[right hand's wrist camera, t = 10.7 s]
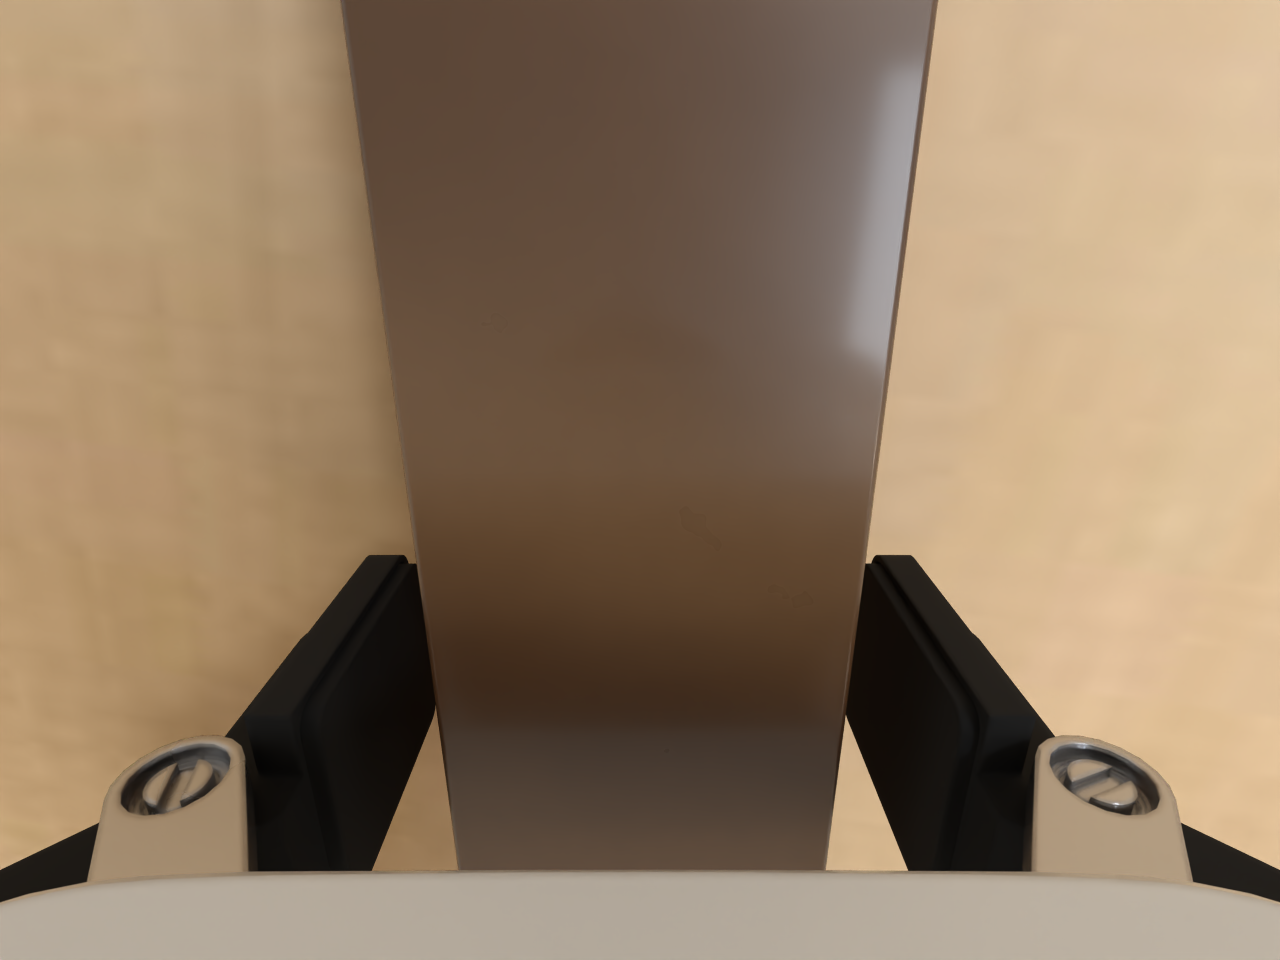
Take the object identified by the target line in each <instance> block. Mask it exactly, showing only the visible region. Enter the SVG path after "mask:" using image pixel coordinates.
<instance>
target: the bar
mask: <svg viewBox="0 0 1280 960" xmlns="http://www.w3.org/2000/svg"><path fill="white" fill-rule="evenodd" d="M340 3H341V10H342V18H343V25H344V32H345V40H346V47H347V54H348V62H349V69H350V76H351V84H352V91H353V99H354V106H355V113H356V121H357V128H358V135H359V143H360V150H361V157H362V165H363V172H364V179H365V187H366V194H367V202H368V209H369V216H370V224H371V231H372V238H373V246H374V253H375V260H376V268H377V275H378V283H379V290H380V297H381V305H382V312H383V319H384V327H385V334H386V341H387V349H388V356H389V364H390V371H391V378H392V386H393V393H394V400H395V408H396V415H397V422H398V430H399V437H400V445H401V452H402V459H403V467H404V474H405V481H406V489H407V496H408V503H409V511H410V518H411V526H412V533H413V540H414V548H415V555H416V562H417V570H418V577H419V584H420V592H421V599H422V607H423V614H424V621H425V629H426V636H427V643H428V651H429V658H430V665H431V673H432V680H433V688H434V695H435V702H436V710H437V717H438V724H439V732H440V739H441V746H442V754H443V761H444V769H445V776H446V783H447V791H448V798H449V805H450V813H451V820H452V827H453V835H454V842H455V850H456V857H457V864H458V870H826V863H827V855H828V847H829V839H830V832H831V824H832V816H833V809H834V801H835V793H836V785H837V778H838V770H839V762H840V754H841V747H842V739H843V731H844V724H845V716H846V708H847V700H848V693H849V685H850V677H851V670H852V662H853V654H854V646H855V639H856V631H857V623H858V616H859V608H860V600H861V592H862V585H863V577H864V569H865V562H866V554H867V546H868V538H869V531H870V523H871V515H872V507H873V500H874V492H875V484H876V477H877V469H878V461H879V453H880V446H881V438H882V430H883V423H884V415H885V407H886V399H887V392H888V384H889V376H890V369H891V361H892V353H893V345H894V338H895V330H896V322H897V315H898V307H899V299H900V291H901V284H902V276H903V268H904V261H905V253H906V245H907V237H908V230H909V222H910V214H911V206H912V199H913V191H914V183H915V176H916V168H917V160H918V152H919V145H920V137H921V129H922V122H923V114H924V106H925V98H926V91H927V83H928V75H929V68H930V60H931V52H932V44H933V37H934V29H935V21H936V14H937V6H938V0H340Z"/></svg>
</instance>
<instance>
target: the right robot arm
mask: <svg viewBox="0 0 1280 960" xmlns="http://www.w3.org/2000/svg"><path fill="white" fill-rule="evenodd" d="M435 705H436V702H435V695H434V688H433V680H432V673H431V665H430V658H429V651H428V643H427V636H426V629H425V621H424V614H423V607H422V599H421V592H420V584H419V577H418V570H417V564H408V560H407V558H406V557H405V556H404V555H369V556H368V557H366V559H365V560H364V561H363V562H362V564H361V565H360V566H359V568H358V569H357V570H356V571H355V573H354V574H353V575H352V577H351V578H350V579H349V581H348V582H347V583H346V584H345V586H344V587H343V588H342V590H341V591H340V592H339V593H338V595H337V596H336V597H335V599H334V600H333V601H332V603H331V604H330V605H329V606H328V608H327V609H326V610H325V612H324V613H323V614H322V615H321V617H320V618H319V619H318V621H317V622H316V623H315V625H314V626H313V627H312V628H311V630H310V631H309V632H308V633H307V634H306V635H305V636H304V637H303V638H301V639H300V641H299V642H298V643H297V645H296V646H295V647H294V648H293V650H292V651H291V652H290V654H289V655H288V656H287V657H286V659H285V660H284V661H283V663H282V664H281V665H280V666H279V668H278V669H277V670H276V672H275V673H274V674H273V675H272V677H271V678H270V679H269V681H268V682H267V683H266V684H265V686H264V687H263V688H262V690H261V691H260V692H259V693H258V695H257V696H256V697H255V699H254V700H253V701H252V702H251V704H250V705H249V706H248V708H247V709H246V710H245V711H244V713H243V714H242V715H241V717H240V718H239V719H238V720H237V722H236V723H235V724H234V726H233V727H232V728H231V729H230V731H229V732H228V733H227V735H226V736H225V737H223V736H219V735H211V736H197V737H192V738H187V739H182V740H179V741H176V742H173V743H171V744H168V745H165V746H163V747H160V748H158V749H156V750H154V751H153V752H151V753H149V754H147V755H145V756H143V757H142V758H140V759H139V760H137V761H136V762H135V763H133V764H132V765H131V766H129V767H128V768H127V769H126V770H124V771H123V772H122V773H121V774H120V775H119V777H118V778H117V779H116V780H115V781H114V782H113V783H112V785H111V786H110V788H109V790H108V792H107V795H106V797H105V799H104V803H103V807H102V812H101V817H100V822H99V823H98V824H96V825H93V826H91V827H89V828H87V829H85V830H83V831H81V832H79V833H77V834H75V835H73V836H70V837H68V838H66V839H64V840H62V841H60V842H58V843H56V844H54V845H52V846H50V847H47V848H45V849H43V850H41V851H39V852H37V853H35V854H33V855H31V856H29V857H27V858H24V859H22V860H20V861H18V862H16V863H14V864H12V865H10V866H8V867H6V868H3V869H1V870H0V960H1280V870H1279V869H1276V868H1274V867H1272V866H1270V865H1268V864H1266V863H1264V862H1262V861H1260V860H1258V859H1256V858H1253V857H1251V856H1249V855H1247V854H1245V853H1243V852H1241V851H1239V850H1237V849H1235V848H1233V847H1230V846H1228V845H1226V844H1224V843H1222V842H1220V841H1218V840H1216V839H1214V838H1212V837H1210V836H1207V835H1205V834H1203V833H1201V832H1199V831H1197V830H1195V829H1193V828H1191V827H1189V826H1187V825H1184V824H1182V823H1181V822H1180V817H1179V812H1178V807H1177V803H1176V799H1175V797H1174V795H1173V792H1172V790H1171V788H1170V786H1169V785H1168V783H1167V782H1166V781H1165V780H1164V779H1163V778H1162V777H1161V775H1160V774H1159V773H1158V772H1157V771H1156V770H1154V769H1153V768H1152V767H1151V766H1149V765H1148V764H1147V763H1145V762H1144V761H1143V760H1141V759H1140V758H1138V757H1137V756H1135V755H1133V754H1131V753H1129V752H1127V751H1126V750H1124V749H1122V748H1120V747H1117V746H1115V745H1112V744H1109V743H1107V742H1104V741H1101V740H1098V739H1093V738H1088V737H1083V736H1069V735H1061V736H1057V737H1055V736H1054V735H1053V733H1052V732H1051V731H1050V729H1049V728H1048V727H1047V726H1046V724H1045V723H1044V722H1043V720H1042V719H1041V718H1040V717H1039V715H1038V714H1037V713H1036V711H1035V710H1034V709H1033V708H1032V706H1031V705H1030V704H1029V702H1028V701H1027V700H1026V699H1025V697H1024V696H1023V695H1022V693H1021V692H1020V691H1019V690H1018V688H1017V687H1016V686H1015V684H1014V683H1013V682H1012V681H1011V679H1010V678H1009V677H1008V675H1007V674H1006V673H1005V672H1004V670H1003V669H1002V668H1001V666H1000V665H999V664H998V663H997V661H996V660H995V659H994V657H993V656H992V655H991V654H990V652H989V651H988V650H987V648H986V647H985V646H984V645H983V643H982V642H981V641H980V640H979V638H977V637H976V636H975V635H974V634H973V633H972V632H971V631H970V630H969V628H968V627H967V626H966V625H965V623H964V622H963V621H962V619H961V618H960V617H959V615H958V614H957V613H956V612H955V610H954V609H953V608H952V606H951V605H950V604H949V603H948V601H947V600H946V599H945V597H944V596H943V595H942V593H941V592H940V591H939V590H938V588H937V587H936V586H935V584H934V583H933V582H932V581H931V579H930V578H929V577H928V575H927V574H926V573H925V572H924V570H923V569H922V568H921V566H920V565H919V564H918V562H917V561H916V560H915V559H914V557H912V556H911V555H876V556H875V557H874V558H873V560H872V563H871V564H865V569H864V577H863V585H862V592H861V600H860V608H859V616H858V623H857V631H856V639H855V646H854V654H853V662H852V670H851V677H850V685H849V693H848V700H847V708H846V716H847V719H848V722H849V724H850V727H851V729H852V732H853V734H854V737H855V739H856V742H857V744H858V747H859V749H860V752H861V754H862V757H863V759H864V762H865V764H866V767H867V769H868V772H869V774H870V777H871V779H872V782H873V784H874V787H875V789H876V791H877V794H878V796H879V799H880V801H881V804H882V806H883V809H884V811H885V814H886V816H887V819H888V821H889V824H890V826H891V829H892V831H893V834H894V836H895V839H896V841H897V844H898V846H899V849H900V851H901V854H902V856H903V859H904V861H905V864H906V866H907V869H908V871H832V870H448V871H372V869H373V866H374V864H375V861H376V859H377V856H378V854H379V851H380V849H381V846H382V844H383V841H384V839H385V836H386V834H387V831H388V829H389V826H390V824H391V821H392V819H393V816H394V814H395V811H396V809H397V806H398V804H399V801H400V799H401V796H402V794H403V791H404V789H405V786H406V784H407V782H408V779H409V777H410V774H411V772H412V769H413V767H414V764H415V762H416V759H417V757H418V754H419V752H420V749H421V747H422V744H423V742H424V739H425V737H426V734H427V732H428V729H429V727H430V724H431V722H432V719H433V716H434V712H435Z"/></svg>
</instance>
